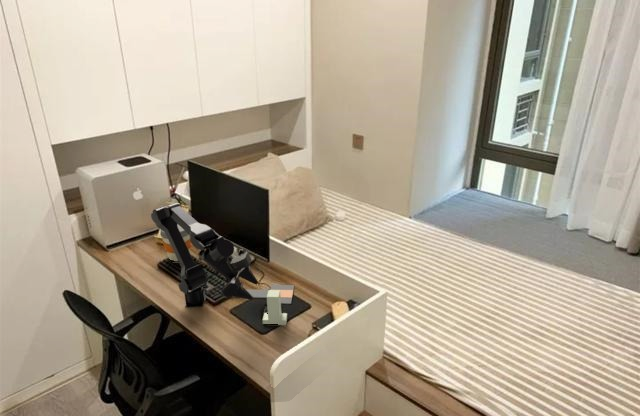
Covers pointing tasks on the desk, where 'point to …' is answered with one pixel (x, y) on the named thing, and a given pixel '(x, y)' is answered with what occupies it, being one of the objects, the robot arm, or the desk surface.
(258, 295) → the t mat
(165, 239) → the reusable coffee cup
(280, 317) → the t post
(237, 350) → the desk surface
